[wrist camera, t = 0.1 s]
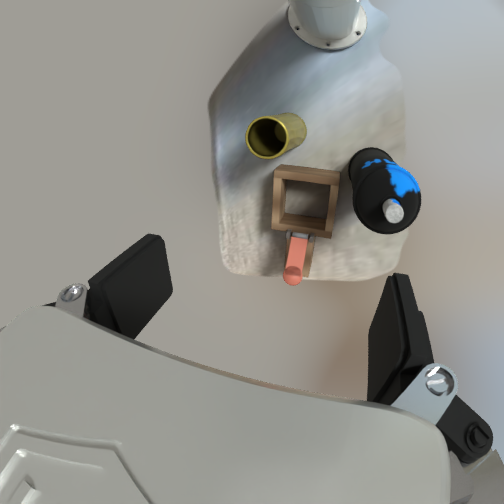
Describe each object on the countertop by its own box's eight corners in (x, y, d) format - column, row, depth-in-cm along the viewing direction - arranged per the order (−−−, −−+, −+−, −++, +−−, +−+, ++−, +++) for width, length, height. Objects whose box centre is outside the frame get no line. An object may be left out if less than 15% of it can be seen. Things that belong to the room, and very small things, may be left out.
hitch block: (280, 164, 44) (271, 172, 39) (339, 171, 42) (339, 181, 36) (275, 255, 53) (266, 274, 48) (325, 264, 51) (322, 284, 45)
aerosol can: (383, 203, 42) (407, 263, 25) (340, 182, 43) (340, 232, 26) (403, 160, 37) (445, 196, 21) (358, 138, 38) (375, 157, 21)
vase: (269, 145, 43) (240, 160, 31) (271, 111, 40) (242, 110, 28) (304, 150, 42) (290, 166, 30) (308, 114, 39) (294, 114, 27)
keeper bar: (291, 232, 44) (291, 230, 43) (309, 235, 43) (309, 233, 42) (282, 283, 43) (281, 283, 42) (300, 287, 42) (300, 286, 41)
